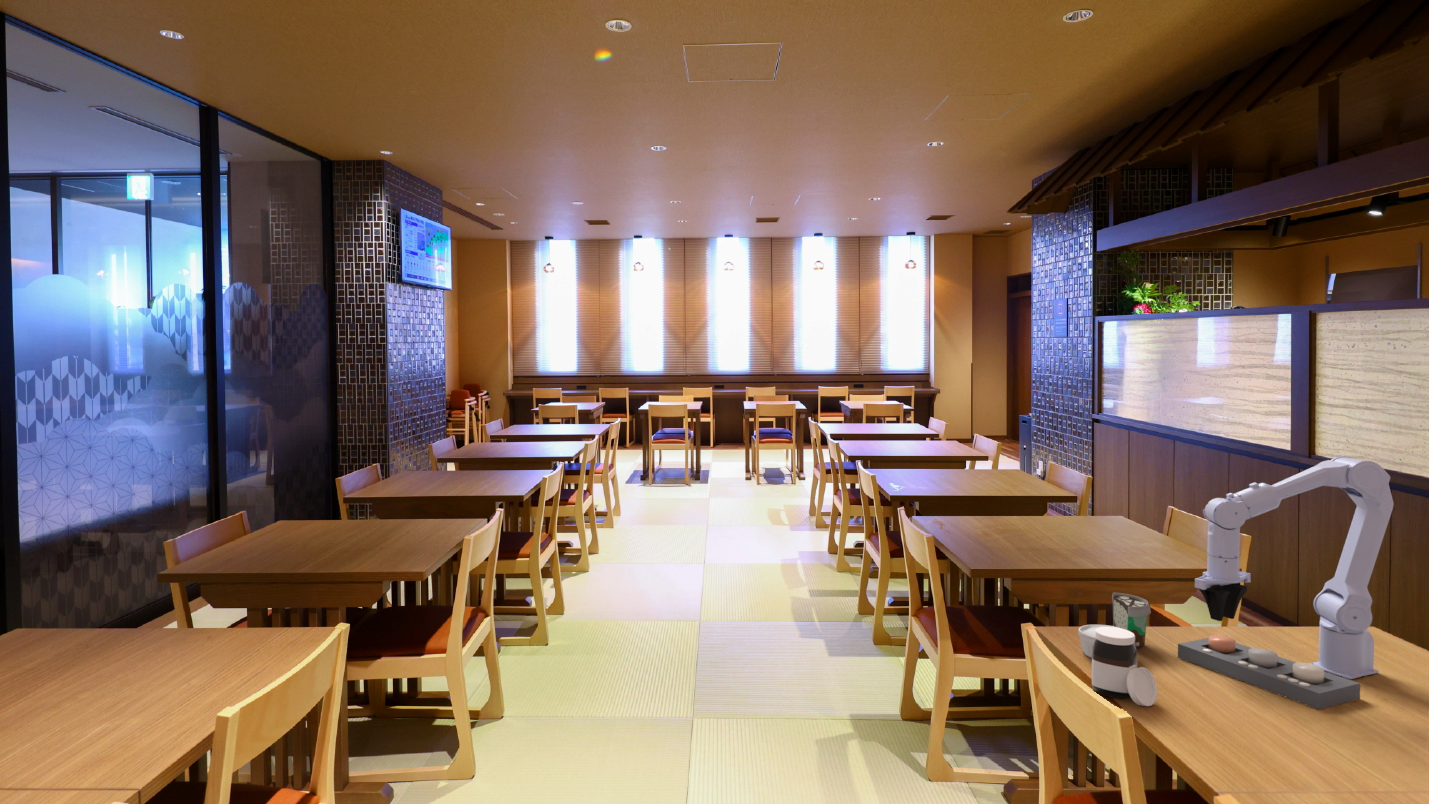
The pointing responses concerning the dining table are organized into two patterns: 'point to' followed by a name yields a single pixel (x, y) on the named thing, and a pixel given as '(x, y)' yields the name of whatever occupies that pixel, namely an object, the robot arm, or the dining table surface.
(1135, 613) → the food container
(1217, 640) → the button one
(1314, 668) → the button three
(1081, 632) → the ramekin
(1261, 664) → the button two
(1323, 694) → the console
